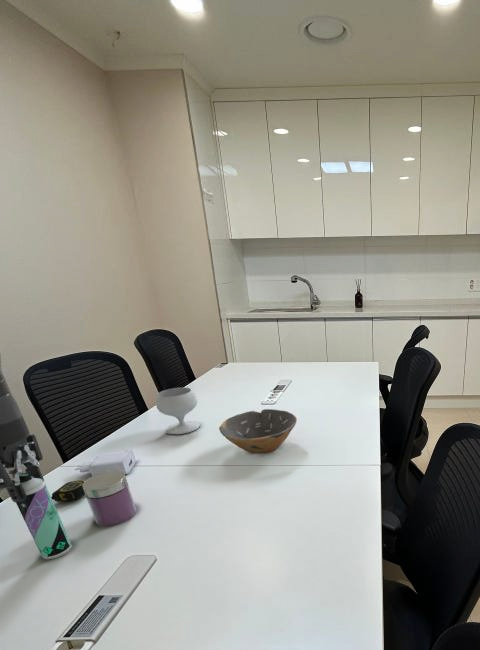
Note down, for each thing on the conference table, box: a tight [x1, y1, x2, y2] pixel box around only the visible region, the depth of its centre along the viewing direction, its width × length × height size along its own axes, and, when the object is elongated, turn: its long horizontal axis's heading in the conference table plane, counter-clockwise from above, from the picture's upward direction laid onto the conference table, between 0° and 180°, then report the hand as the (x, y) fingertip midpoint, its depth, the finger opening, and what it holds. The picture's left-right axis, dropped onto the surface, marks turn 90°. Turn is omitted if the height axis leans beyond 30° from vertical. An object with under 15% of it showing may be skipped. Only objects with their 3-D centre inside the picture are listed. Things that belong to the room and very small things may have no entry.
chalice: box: [155, 387, 201, 435], centre depth 148 cm, size 14×14×15 cm
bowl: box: [218, 408, 298, 455], centre depth 131 cm, size 25×25×10 cm
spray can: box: [15, 472, 73, 560], centre depth 83 cm, size 6×6×20 cm
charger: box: [74, 449, 136, 477], centre depth 120 cm, size 5×9×15 cm
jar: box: [84, 482, 137, 527], centre depth 97 cm, size 9×9×10 cm
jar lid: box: [82, 471, 128, 498], centre depth 96 cm, size 9×9×2 cm
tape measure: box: [51, 479, 85, 503], centre depth 107 cm, size 7×7×4 cm
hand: (29, 491), depth 81 cm, fingers open, 6 cm apart
